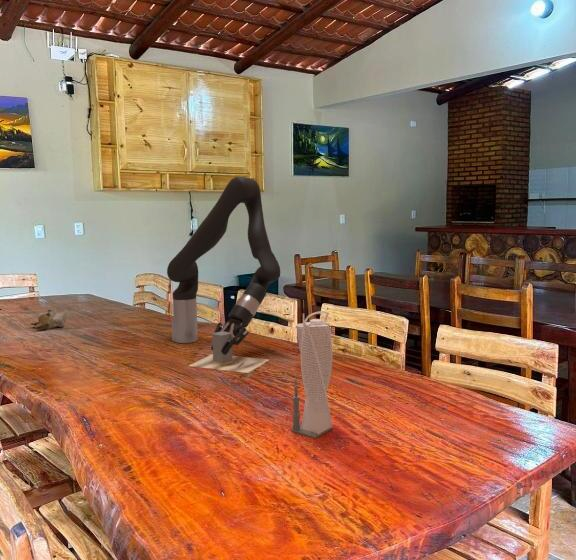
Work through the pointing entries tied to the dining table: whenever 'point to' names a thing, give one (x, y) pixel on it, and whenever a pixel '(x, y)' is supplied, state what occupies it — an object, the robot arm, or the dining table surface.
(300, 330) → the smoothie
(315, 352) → the skyscraper
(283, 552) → the dining table surface
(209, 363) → the board
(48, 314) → the ceramic sculpture
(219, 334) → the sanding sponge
